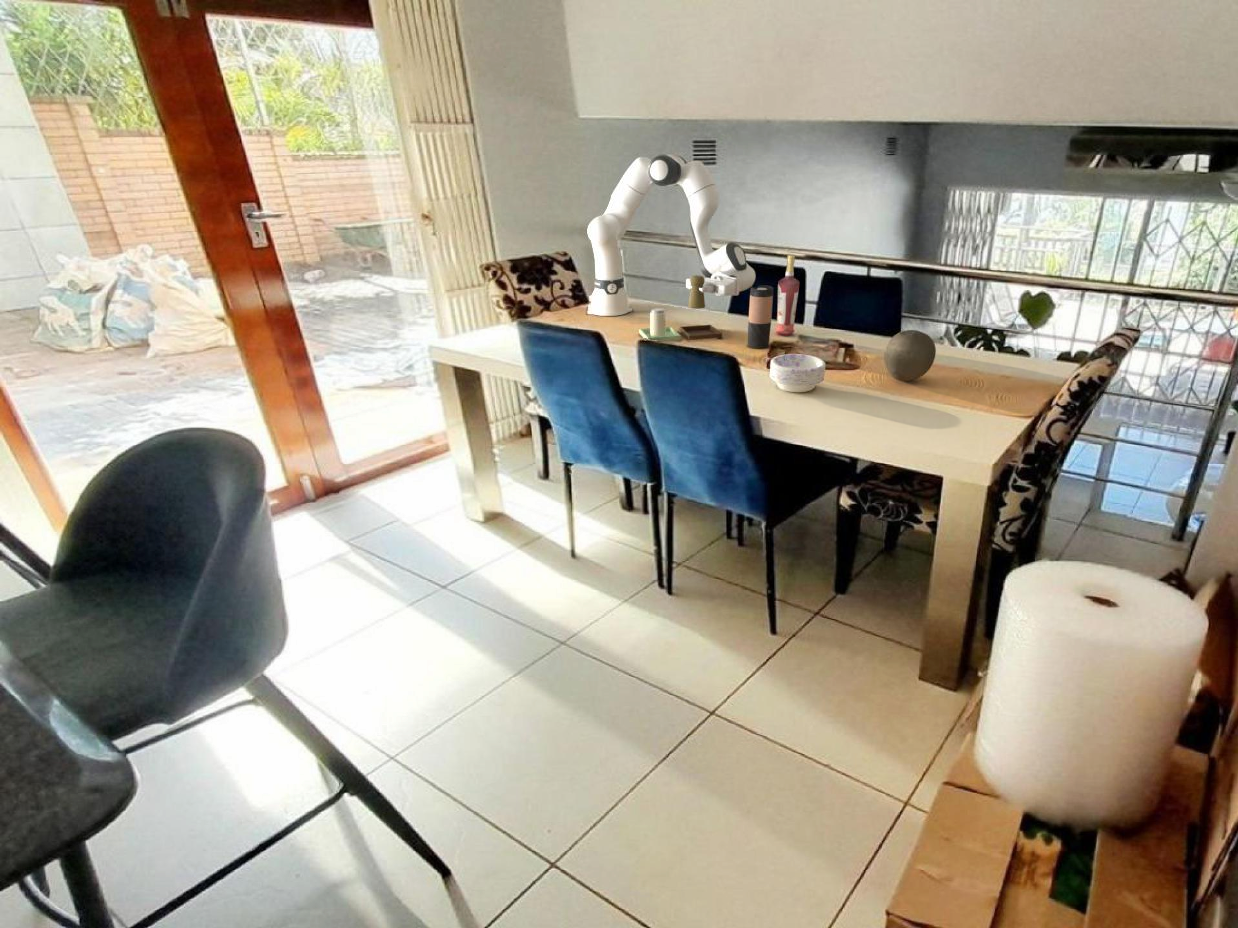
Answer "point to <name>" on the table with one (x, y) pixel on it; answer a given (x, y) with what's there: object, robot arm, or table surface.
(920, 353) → the cantaloupe
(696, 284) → the olive pawn figurine
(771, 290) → the travel mug
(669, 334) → the pale tray
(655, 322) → the salt shaker
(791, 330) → the liquor
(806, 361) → the paper bowls
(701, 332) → the dark tray
